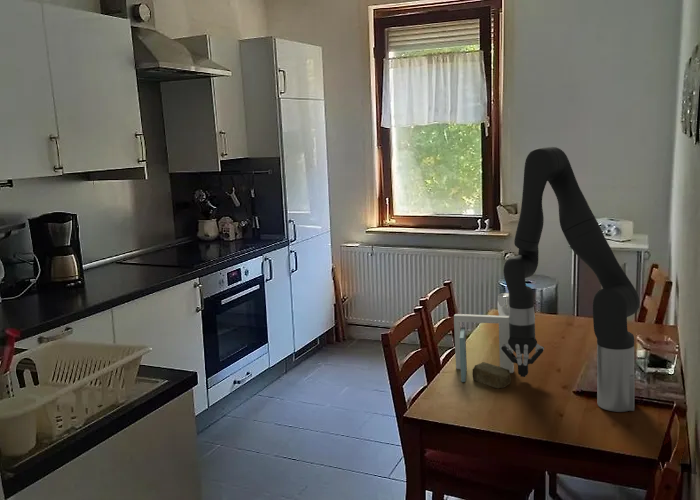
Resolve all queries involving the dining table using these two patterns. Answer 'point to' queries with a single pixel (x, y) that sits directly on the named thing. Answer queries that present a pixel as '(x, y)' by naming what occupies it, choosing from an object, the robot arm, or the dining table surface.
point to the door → (463, 354)
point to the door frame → (502, 321)
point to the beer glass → (503, 304)
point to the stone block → (491, 375)
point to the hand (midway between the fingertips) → (523, 375)
